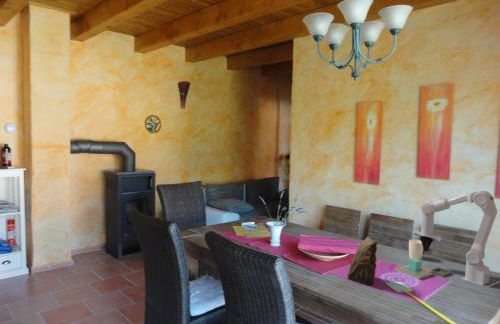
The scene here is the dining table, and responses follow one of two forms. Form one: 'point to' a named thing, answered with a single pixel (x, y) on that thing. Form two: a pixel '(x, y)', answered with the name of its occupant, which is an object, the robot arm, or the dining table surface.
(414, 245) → the beige tapered cup
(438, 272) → the dark brown square tray
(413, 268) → the mint green block
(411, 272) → the port
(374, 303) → the dining table surface
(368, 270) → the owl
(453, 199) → the robot arm
